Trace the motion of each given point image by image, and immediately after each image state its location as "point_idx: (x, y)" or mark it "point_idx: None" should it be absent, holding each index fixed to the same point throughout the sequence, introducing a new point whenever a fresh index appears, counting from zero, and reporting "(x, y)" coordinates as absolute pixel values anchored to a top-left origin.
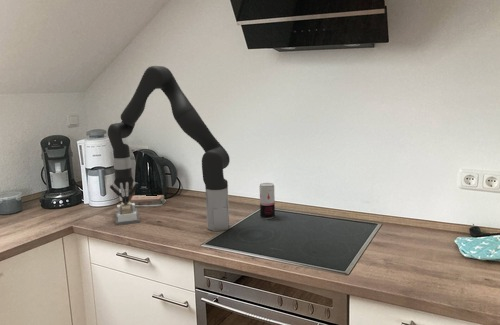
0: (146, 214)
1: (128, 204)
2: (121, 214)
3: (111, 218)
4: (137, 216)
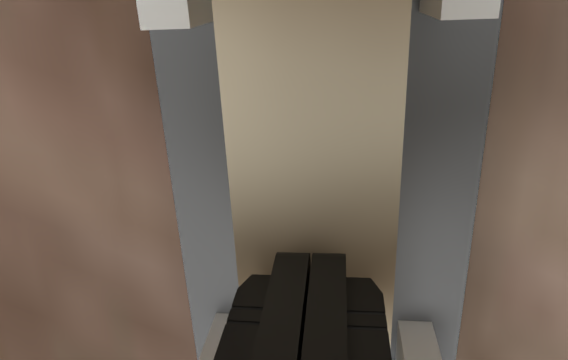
0: (88, 200)
1: None
2: None
3: (522, 214)
4: (170, 71)
